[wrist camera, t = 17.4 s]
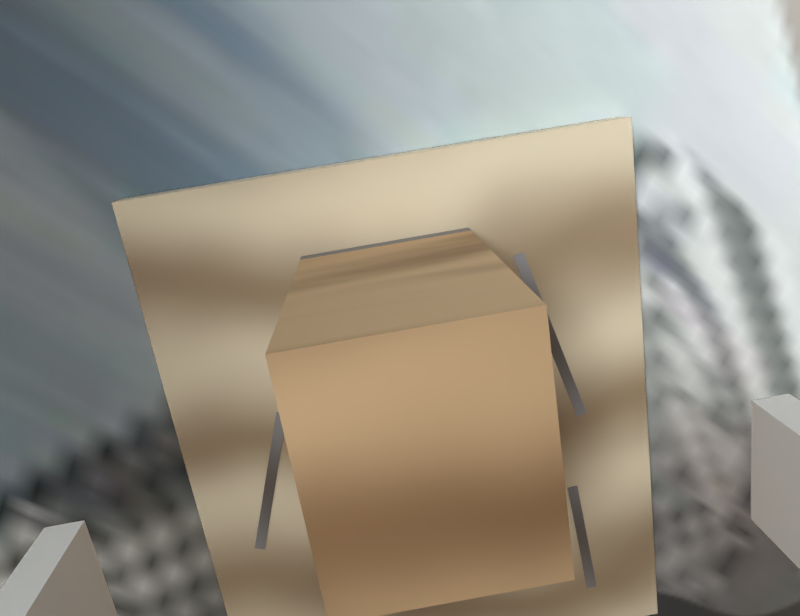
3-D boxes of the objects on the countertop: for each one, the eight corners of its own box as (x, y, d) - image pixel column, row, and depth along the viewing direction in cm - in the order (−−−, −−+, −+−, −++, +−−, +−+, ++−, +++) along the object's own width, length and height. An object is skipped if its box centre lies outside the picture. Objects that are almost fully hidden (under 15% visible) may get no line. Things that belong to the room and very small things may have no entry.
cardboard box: (301, 256, 23) (265, 354, 14) (468, 227, 24) (546, 305, 14) (338, 432, 25) (328, 624, 16) (491, 405, 26) (574, 579, 16)
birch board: (123, 198, 24) (111, 202, 22) (618, 116, 24) (631, 116, 23) (251, 665, 30) (247, 688, 28) (646, 594, 30) (658, 614, 29)
